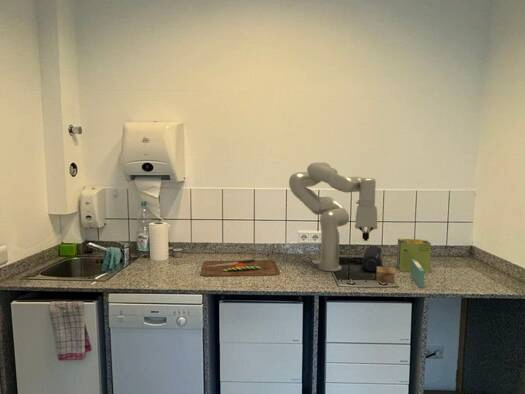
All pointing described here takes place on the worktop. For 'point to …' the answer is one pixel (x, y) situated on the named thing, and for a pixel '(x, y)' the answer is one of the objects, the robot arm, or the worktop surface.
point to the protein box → (413, 254)
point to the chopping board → (239, 268)
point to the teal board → (417, 273)
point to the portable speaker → (372, 258)
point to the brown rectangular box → (385, 274)
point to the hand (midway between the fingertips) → (365, 240)
